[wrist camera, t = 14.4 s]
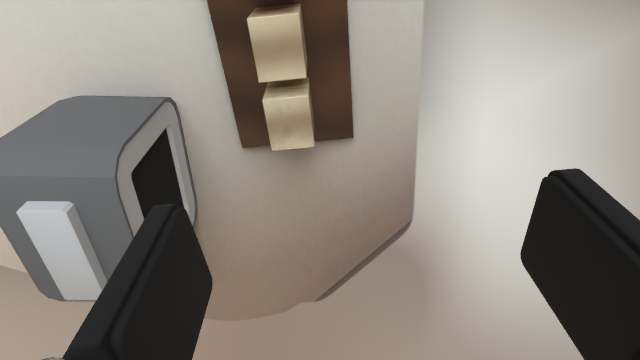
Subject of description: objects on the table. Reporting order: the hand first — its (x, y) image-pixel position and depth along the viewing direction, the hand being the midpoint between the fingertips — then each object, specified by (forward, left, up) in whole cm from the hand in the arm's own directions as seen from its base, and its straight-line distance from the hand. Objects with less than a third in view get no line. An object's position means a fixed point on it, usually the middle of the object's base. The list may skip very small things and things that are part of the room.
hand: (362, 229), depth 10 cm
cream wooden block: (+4, -1, -27) cm, 28 cm away
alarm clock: (+25, +4, -28) cm, 38 cm away
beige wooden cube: (+6, +5, -27) cm, 28 cm away
